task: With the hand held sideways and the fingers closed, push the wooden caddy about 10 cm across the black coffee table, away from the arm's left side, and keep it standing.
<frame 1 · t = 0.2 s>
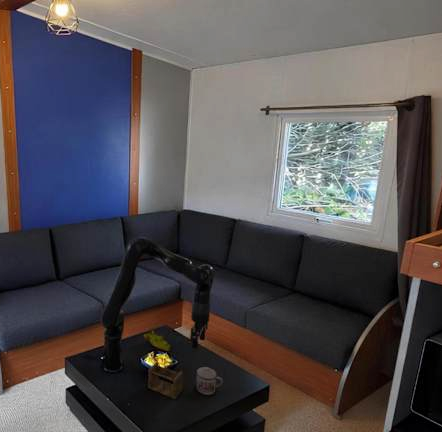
hand: (198, 343, 177), 29 cm above the table, tool pointing down, fingers open, 8 cm apart
wooden caddy: (164, 389, 192), on the table
teacup with lid: (208, 390, 191), on the table
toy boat: (157, 347, 229), on the table
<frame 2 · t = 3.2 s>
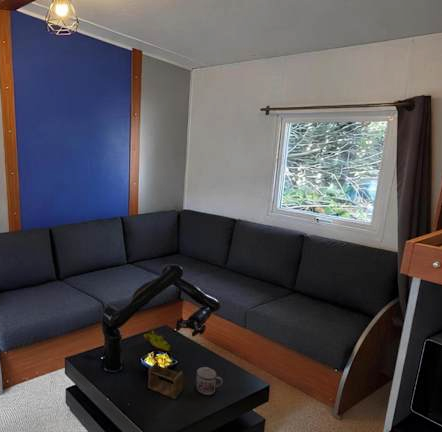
hand: (184, 332, 202), 22 cm above the table, tool horizontal, fingers open, 8 cm apart
nothing on the table moved.
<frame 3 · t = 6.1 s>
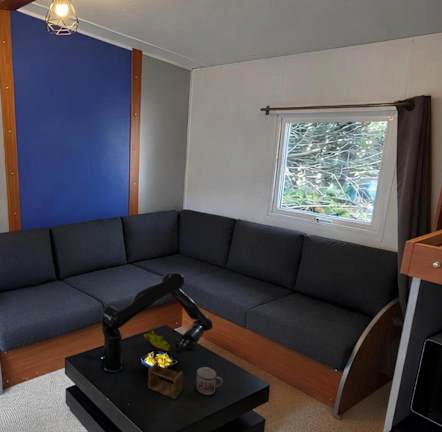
hand: (177, 351, 200), 13 cm above the table, tool horizontal, fingers closed
nothing on the table moved.
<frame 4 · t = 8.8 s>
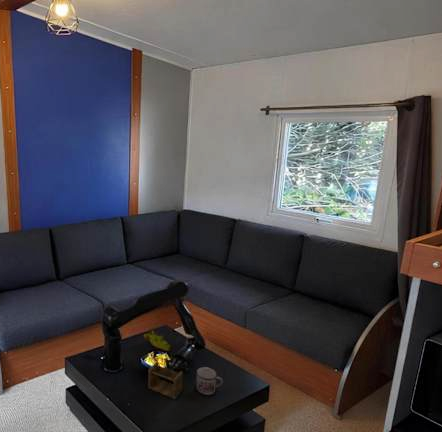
hand: (169, 373, 194), 7 cm above the table, tool horizontal, fingers closed
wooden caddy: (164, 389, 192), on the table, touching gripper
everything else where it was.
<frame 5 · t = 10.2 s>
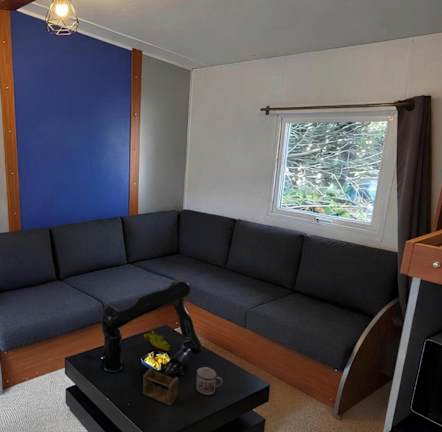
hand: (164, 377, 190), 7 cm above the table, tool horizontal, fingers closed
wooden caddy: (160, 395, 188), on the table, touching gripper
everything else where it was.
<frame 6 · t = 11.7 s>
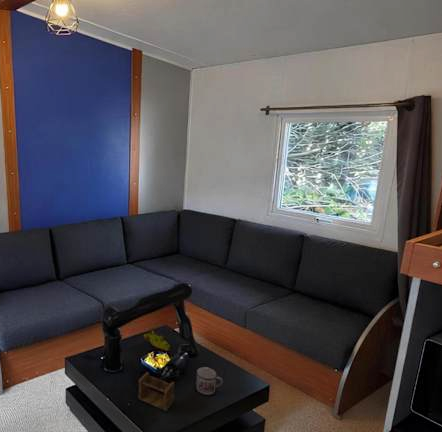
hand: (160, 382, 186), 7 cm above the table, tool horizontal, fingers closed
wooden caddy: (155, 400, 185), on the table, touching gripper
everything else where it was.
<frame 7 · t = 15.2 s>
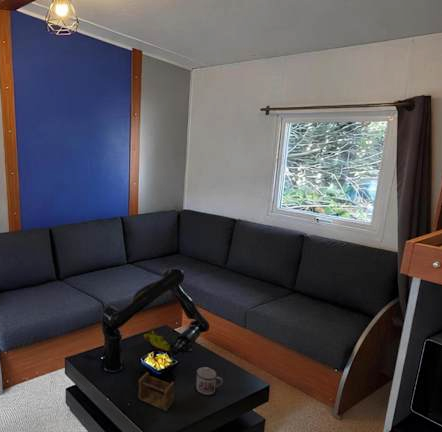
hand: (173, 352, 195), 15 cm above the table, tool horizontal, fingers closed
wooden caddy: (155, 400, 185), on the table
everything else where it was.
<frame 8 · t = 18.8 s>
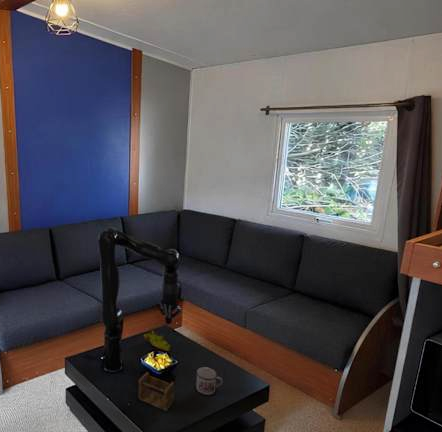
hand: (168, 323, 196), 29 cm above the table, tool pointing down, fingers closed
nothing on the table moved.
at the end: wooden caddy inside the target area (0.2 cm from its centre), on the table; wooden caddy tilted 0°; the gripper is holding nothing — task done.
